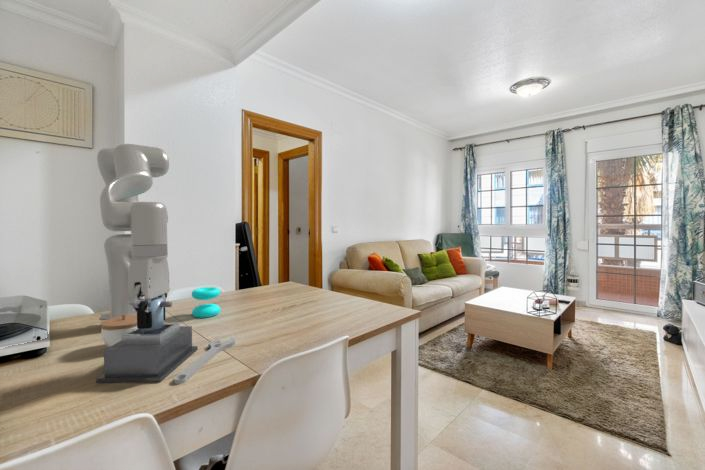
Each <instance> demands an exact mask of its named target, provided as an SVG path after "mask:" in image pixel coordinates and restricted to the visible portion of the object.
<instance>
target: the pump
mask: <svg viewBox="0 0 705 470" xmlns="http://www.w3.org/2000/svg"><path fill="white" fill-rule="evenodd" d="M142 303H143V304H144V305H145V304H146V302H142ZM172 306H173V301H167V300H166V301H163V298H161V297H155V298H153V299H151V305H150V311H152V327H151V328H148V329H140V330H142V331H150V330H156V329H159V328H162V327H163V326H164V323H165V320H164V314H163V307H165V308H172Z"/></svg>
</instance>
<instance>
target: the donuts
mask: <svg viewBox="0 0 705 470" xmlns="http://www.w3.org/2000/svg"><path fill="white" fill-rule="evenodd" d="M220 294H221V290H220V288H218V287H213V286H208V287H200V288H195V289H194V290H193V291H192V292H191V298H193V299H195V300H198V301H208V300H213V299H215V298H217V297H218V296H220ZM220 312H221V307H220V306H219V305H218V304H216V303H204V304H199V305H197V306H195V307H194V308H193V309H192V311H191V315H192V316H193V317H195V318H198V319H199V318H211V317H215V316H217V315H219V314H220Z"/></svg>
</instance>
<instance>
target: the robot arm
mask: <svg viewBox="0 0 705 470" xmlns="http://www.w3.org/2000/svg"><path fill="white" fill-rule="evenodd" d="M96 156H97V157H96V159H97V166H98V171H99V173H100V175H101V177H102V179H103V181H104V184H105V186H104V188H103V189H102V192H101V193H100V198H99V205H100V206H99V207H100V213H101V215H100V216H101V220H102V223H103V225H104V227H105V228H106V229H107V230H108V231H112V232H130V233H122V234H121V233H120V234H114V235H111V236H108V237H107V238H106V239H105V241H104V246H103V247H104V248H103V249H104V253H105V258H106V262H107V270H108V293H109V294H108V295H109V298H108V299H109V312H103V313H101V315H100V316H99V319H98V320H99V321H105V320H107V319H110V318H114V317H119V316H122V314H126V315H137V328H138V329H148V328H151V327H152V311H150V305H151V299H153V298H155V297H161V298H163V301H167V298H168V293H169V292H170V290H171V288H170V272H169V262H168V256H169V255H168V252H169V250H168V222H169V215H168V210H167V206H166V205H165V204H164V203H163V202H162V203H161V202H158V201H139V195H142V194H145V193H147V192H148V191H149V190H150V189H151V188H152V186H153V178H154V179H155V178H160V177H162V176H163V177H164V176H165V175H166V174H168V172H169V169H170V161H169V160H170V159H169V155H168V154H167V153H166V151H165V150H164V149H162V148H159V147H157V146H147V145H141V144H134V143H122V144H119V145H117V146H115V147H114V148H113V147H106V148H103V149H100V150H99V151H98V153H97V155H96ZM142 302H146V304H145V305H144V304H143V303H142ZM163 314H164V321H166V307H163Z"/></svg>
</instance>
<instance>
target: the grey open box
mask: <svg viewBox="0 0 705 470" xmlns="http://www.w3.org/2000/svg"><path fill="white" fill-rule="evenodd" d="M180 324H181V323H176V322H175V323H173V322H172V323H171V322H170V323H169V322H166V323H165V322H164V326H163V327H162V328H159V329H156V330H150V331H142V330H140V329H138V328H135V329H133V330H131V331H129V332H127V333H126V334H124V335H122V336H121V341H120V342H118V343H116V344H114V345H112V346H111V347H107V348H104V349H103V369H104V370H103V372H104V373H103V374H101V375H99V376H98V377H97V378H96V384H118V383H119V384H121V383H124V384H125V383H127V384H128V383H162V382H163V380H165V379H166V378H167V377H168V376H169V375H171V373H173V372H174V371H175V370H176V369H177V368H178V367H179V366H180V365H182V364H183V363H184V362H185V361H186V360H187V359H189V358H190V357H191V356H192V355H194V353H195V352H197V351H198V345H196V346H195V345H193V332H192V331H193V330H192V329H193V327H192V325H187V326H183V325H182V326H180Z"/></svg>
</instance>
